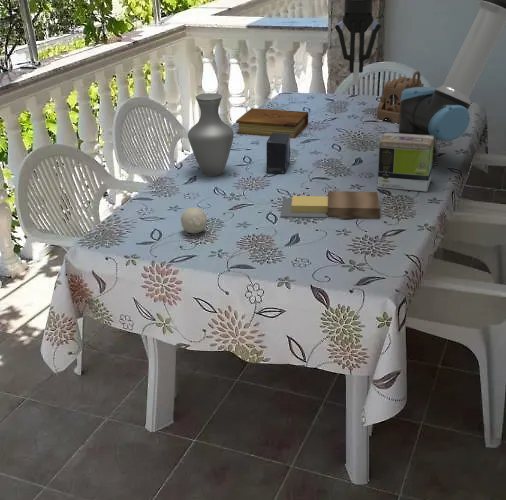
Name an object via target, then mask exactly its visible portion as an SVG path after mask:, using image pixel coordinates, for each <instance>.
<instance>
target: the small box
mask: <svg viewBox="0 0 506 500" xmlns="http://www.w3.org/2000/svg"><path fill="white" fill-rule="evenodd" d="M268 137H269V138H268V139H267V140H266V144H265V145H266V146H265V147H266V152H265V153H266V167H265V168H266V171H265V173H267V174H279V175H285V174H286V173H287V170H288V168H289V166H290V164H291V163H290V162H291V138H290V134H283V133H272V134H271V136H268Z"/></svg>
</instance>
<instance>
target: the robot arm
mask: <svg viewBox="0 0 506 500" xmlns="http://www.w3.org/2000/svg"><path fill="white" fill-rule="evenodd" d="M477 3H478V7H479V11H478V12H477V15H476V17H475V18H474V21H473V23H472V25H471V27H470V29H469V32H468V33H467V34H466V37H465V39H464V41H463V44H462V45H461V48H460V50H459V52H458V54H457V56H456V57H455V60H454V62H453V64H452V66H451V68H450V69H449V73H448V74H447V75H446V78H445V81H443V84H442V85H440V86H439V87H434V86H423V87H414V88H408V89H405V90H404V91H403V92H402V95H401V100H400V102H401V106H400V121H399V124H398V126H399V128H398V133H401V134H417V135H433V136H434V146H433V159H432V163H433V162H435V161H437V160H438V158H439V157H438V156H439V149H438V145H437V140H440V141H443V142H451V141H454V140H456V139H458V138H460V137H461V136H462V135H463V134H464V133H465V132H466V130H467V129H468V128H469V126H470V122H471V121H470V120H471V118H470V112H469V111H468V110H469V108H470V107H471V104H472V103H471V100H470V95H471V93H472V92H473V89H474V87H475V85H476V83H477V82H478V79H479V77H480V76H481V74H482V72H483V69H484V67H485V65H486V63H487V62H488V59H489V58H490V56H491V54H492V51H493V50H494V48H495V46H496V43H497V41H498V40H499V38H500V36H501V33H502V31H503V30H504V27H505V26H506V0H478V1H477ZM370 26H371V30H372V31H371V33H370V35H369V36H370V37H369V40H368V44H367V48H366V51H365V35H366V34H365V33H366V32H367V31H368V29H369V28H370ZM345 27H346V29H347V30H348V32H349V33H350V34H349V36H350V38H349V40H350V41H349V54H348V51H347V47H346V41H345V37H344V32H343V30H344V29H345ZM381 27H382V25H381V23H380V22H377V21H376V20H375V19H374V17H373V0H344V15H343V17H342V20H341V21H340V22H339V23H335V24H334V29H335V31H336V32H337V34H338V38H339V41H340V42H339V43H340V47H341V51H342V56H343V59H344V60H347V61H348V62H349V67H348V68H349V74H352V85H353V86H358V85H359V80H360V79H359V78H360V77H359V76H360V74H361V73H363V72H364V61H366V60H369V59H370V58H371V55H372V51H373V48H374V45H375V40H376V39H377V34H378V33H379V30H380V29H381ZM356 34H359V37H358V39H359V40H358V41H359V42H358V59H355V49H356ZM364 53H365V54H364Z"/></svg>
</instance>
